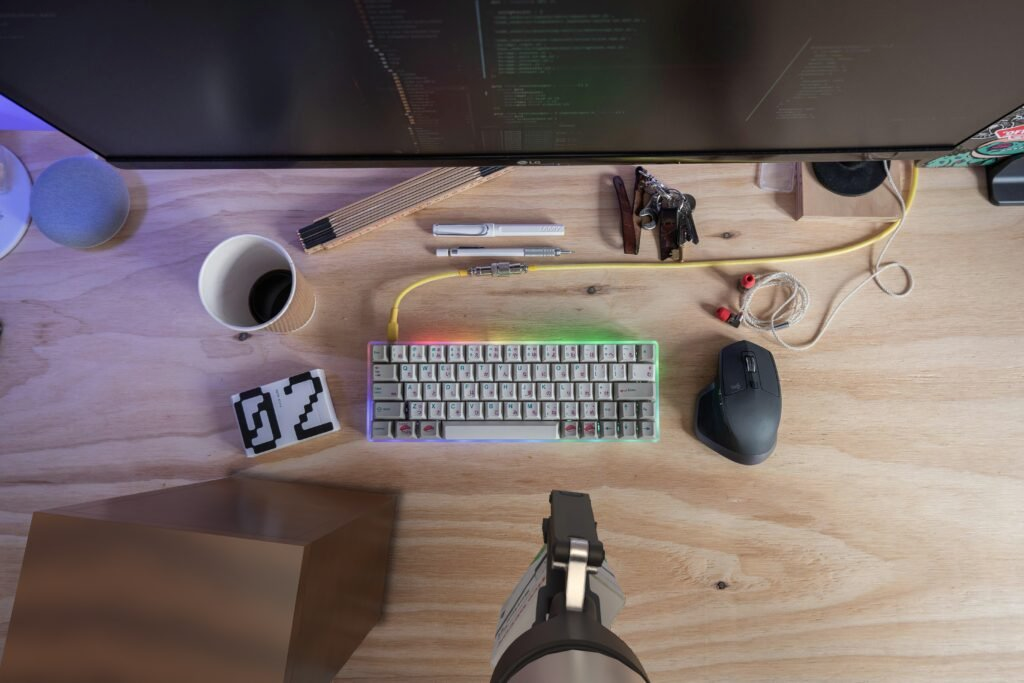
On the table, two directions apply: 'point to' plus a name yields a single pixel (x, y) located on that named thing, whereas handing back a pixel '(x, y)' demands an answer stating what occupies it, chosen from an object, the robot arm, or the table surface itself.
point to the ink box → (522, 614)
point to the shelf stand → (299, 516)
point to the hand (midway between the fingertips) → (552, 593)
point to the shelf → (153, 603)
